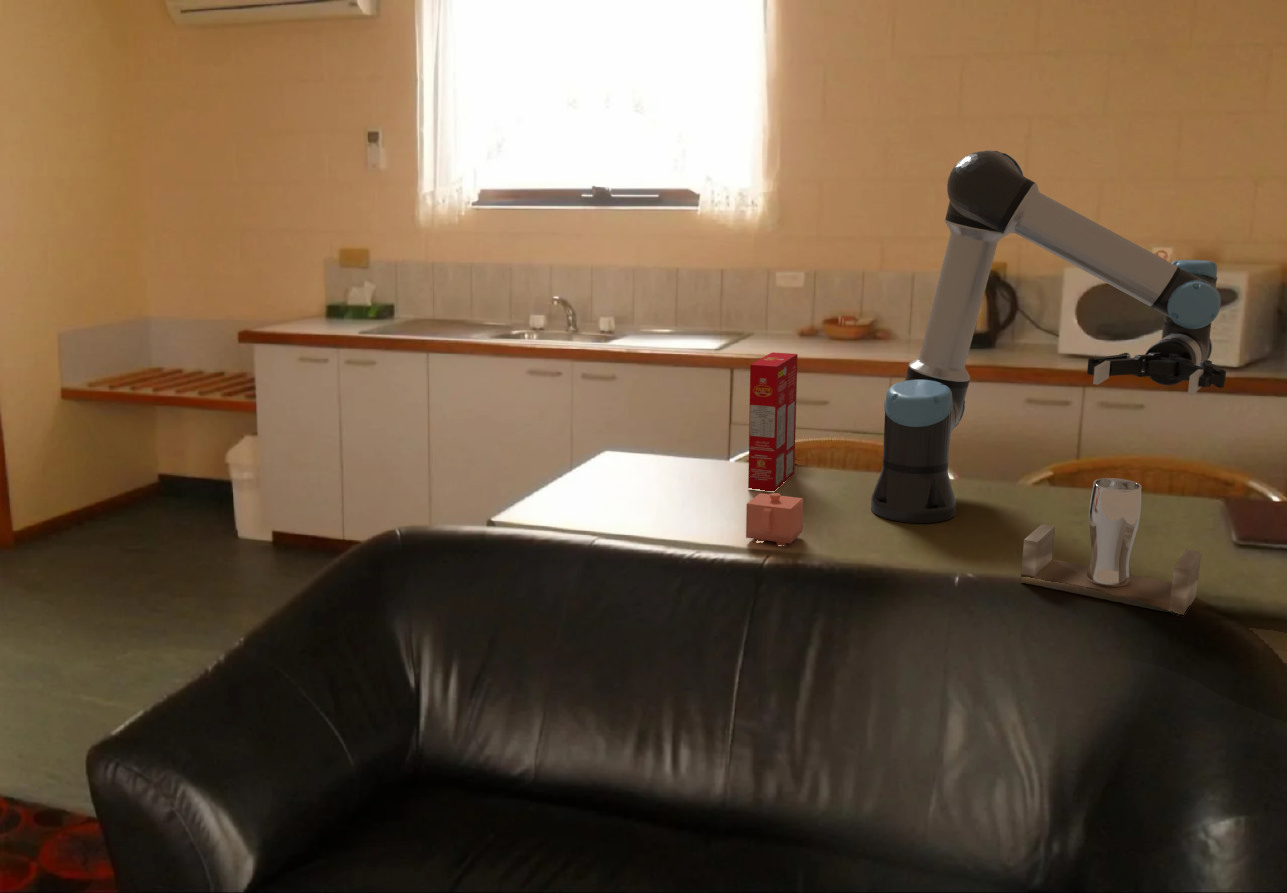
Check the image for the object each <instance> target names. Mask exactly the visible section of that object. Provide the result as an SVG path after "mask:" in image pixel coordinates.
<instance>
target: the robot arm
mask: <svg viewBox="0 0 1287 893" xmlns="http://www.w3.org/2000/svg"><path fill="white" fill-rule="evenodd" d="M946 183H947V184H946V186H947V187H946V188H947V189H946V192H947V196H948V199H949V203H948V206H947V210H946V214H945V219H944V222H945V224H946V226H947V228H948V229H949V232H950V233H949V237H948V241H947V245H946V250H945V252H944V253H945V254H944V257H943V261H942V264H941V269H940V271H939V272H940V273H939V277H938V281H937V285H936V287H935V293H934V297H933V301H932V304H931V309H930V312H929V315H928V316H929V317H928V321H927V324H926V329H925V332H924V336H923V340H922V343H921V344H922V345H921V347H920V348H921V349H920V353H919V356H918V357H917V358H915V359H914V360H912V361H910V362H909V363H908V366H907V371H906V374H905V377H904V378H905V379H904V381H899V382H896V383H895V384H893V385H892V384H891V386H890V387H889V388H888V389H887V391H886V393H885V394H886V396H885V400H884V404H883V407H884V423H883V424H884V426H883V427H884V430H883V445H882V446H883V451H882V468H881V471H880V475H879V477H878V479H877V482H876V484H875V487H874V490H873V493H872V494H871V498H870V499H871V500H870V510H871V512H872V513H873V514H875V515H877V516H879V517H882V518H883V519H887V520H891V521H896V522H902V523H912V524H932V523H939V522H940V523H941V522H945V521H947V520H950V519H953V517H955V516H956V508H957V500H956V498H955V494H954V491H953V487H952V482H951V480H950V474H949V461H950V460H949V458H950V457H949V456H950V442H951V434H952V432H953V431H954V429H956V427H957V426H958V425H959V423H960V421H961V420H962V418H963V416H964V413H965V409H966V405H965V404H966V400H965V399H966V396H967V391H968V388H969V384H970V381H971V375H970V374H969V372H968V370H967V369H966V363H967V360H968V355H969V352H970V349H971V344H972V341H973V336H974V334H975V333H974V332H975V329H976V325H977V321H978V318H979V315H980V310H981V307H982V303H983V299H984V295H985V292H986V288H987V284H988V280H989V276H990V273H991V270H992V266H993V262H994V258H995V255H996V252H997V247H998V243H999V242H1000V240H1002V239H1003V238H1005V237H1006V236H1008V235H1010V234H1016V235H1017V236H1018V237H1022V238H1024V239H1025V240H1026V241H1029V242H1031V243H1033V244H1034V245H1037V246H1038V247H1040V248H1042V249H1044V250H1045V251H1047V252H1049V253H1051V254H1052V255H1054V256H1057V257H1059V258H1061V259H1062V260H1064V261H1066V262H1067V263H1069V264H1071V265H1073V266H1075V267H1076V268H1078V269H1080V270H1082V271H1085V273H1088V274H1089V275H1092V276H1093V277H1094V278H1097V279H1099V280H1101V281H1103V282H1104V283H1106V284H1108V285H1109V286H1111V287H1114V288H1115V289H1118V291H1121V292H1123V293H1125V294H1127V295H1128V296H1130V297H1132V298H1134V299H1136V300H1138V301H1139V302H1141V303H1143V304H1145V305H1147V307H1150V308H1152V309H1153V310H1155V311H1157V312H1158V313H1160V314H1163V315H1164V317H1163V322H1162V323H1163V324H1162V330H1161V331H1162V333H1161V339H1160V340H1158V342H1155V343H1154V344H1152V345H1151V346H1150V347H1149V348H1148V349H1147V350H1146V352H1145V354H1136V355H1134V357H1131V354H1130V353H1129V352H1122V353H1119V354H1115V355H1108V356H1107V355H1106V356H1105V355H1104V356H1098V357H1091V358H1088V359H1087V360H1088V361H1087V368H1086V369H1087V371H1086V374H1087V375H1090V376H1092V377H1093V381H1092V385H1100V384H1102V383H1103V382H1104V381H1106V380H1108V379H1110V376H1111V377H1113V376H1128V375H1133V376H1135V377H1138V378H1142V377H1145V378H1146V377H1149V379H1150V380H1151V381H1153V382H1155V383H1156V384H1159V385H1162V386H1174V385H1177V384H1180V383H1182V382H1184V381H1185V382H1186V381H1187V382H1188V390H1187V395H1194V394H1196V393H1197V392H1198V391H1199V390H1200V389H1201V388H1208V387H1211V386H1212V385H1213V386H1214V387H1217V388H1219V389H1220V388H1221V389H1222V388H1225V384H1226V377H1227V371H1226V370H1225V369H1223V368H1221V367H1219V366H1218V365H1216V364H1214V363H1213V361H1212V360H1209V359H1210V357H1211V355H1212V351H1213V343H1212V339H1211V338H1210V337H1211V332H1212V322H1213V321H1214V320H1216V318H1217V316H1218V314H1219V313H1220V310H1221V307H1222V306H1221V304H1222V299H1221V295H1220V292H1219V290H1218V289H1217V287H1216V286H1217V281H1218V276H1217V274H1218V265H1217V263H1215V262H1214V261H1212V260H1202V259H1177V260H1174V261H1171V262H1170V261H1168V260H1167V259H1165V258H1163V257H1161V256H1159V255H1157V254H1155V253H1154V252H1152V251H1150V250H1148V249H1146V248H1144V247H1142V246H1141V245H1138V244H1136V243H1135V242H1133V241H1132V240H1130V239H1127V238H1126V237H1123V236H1122V235H1120V234H1118V233H1116V232H1114V231H1112V230H1111V229H1109V228H1107V227H1105V226H1103V225H1101V224H1099V223H1098V222H1095V221H1094V220H1092V219H1090V218H1088V217H1086V216H1085V215H1083V214H1081V213H1079V212H1077V211H1075V210H1073V209H1071V208H1070V207H1067V206H1066V205H1065V204H1062V203H1061V202H1058V201H1057V200H1055V199H1053V198H1051V197H1049V196H1047V195H1045V194H1044V193H1042V192H1040V191H1039V187H1038V183H1037V182H1035V181H1033V180H1031V179H1030V178H1027V177H1026V176H1024V173H1023V170H1022V168H1021V166H1020V164H1019V163H1018V162H1017V161H1016V160H1015V158H1013V157H1012V156H1011V155H1008V154H1007V153H1003V152H1001V151H998V150H983V151H982V150H980V151H976V152H972V153H969V154H968V155H966V156H963V157H962V158H961V159H960V160H958V162H957V163H955V165H954V166H953V168H952V169H951V171H950V173H949V176H948V179H947V182H946Z"/></svg>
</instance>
